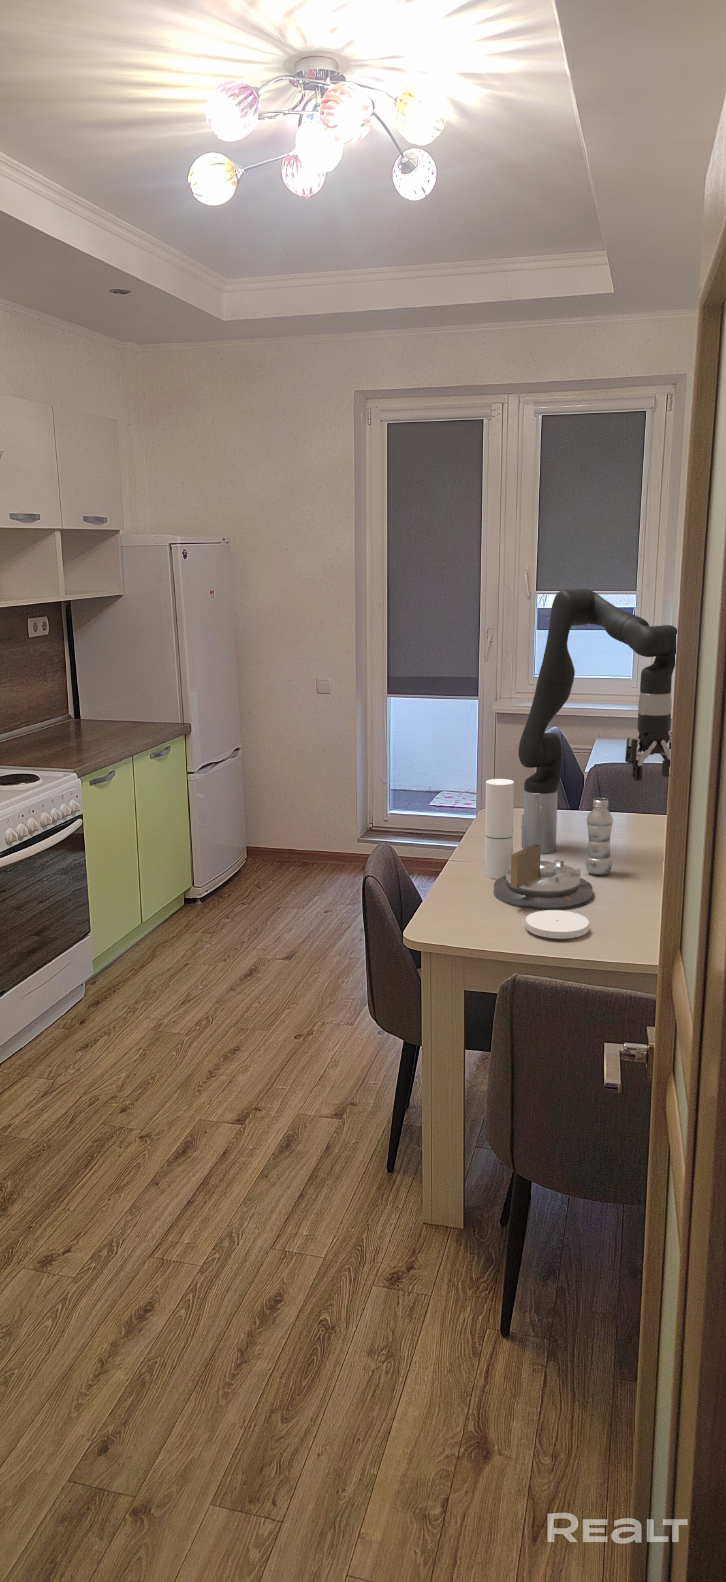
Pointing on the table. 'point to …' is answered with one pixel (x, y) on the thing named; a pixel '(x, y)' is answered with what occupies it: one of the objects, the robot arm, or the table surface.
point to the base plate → (543, 902)
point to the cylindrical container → (498, 827)
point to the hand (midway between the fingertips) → (651, 778)
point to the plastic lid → (557, 924)
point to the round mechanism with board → (540, 875)
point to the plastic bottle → (599, 838)
